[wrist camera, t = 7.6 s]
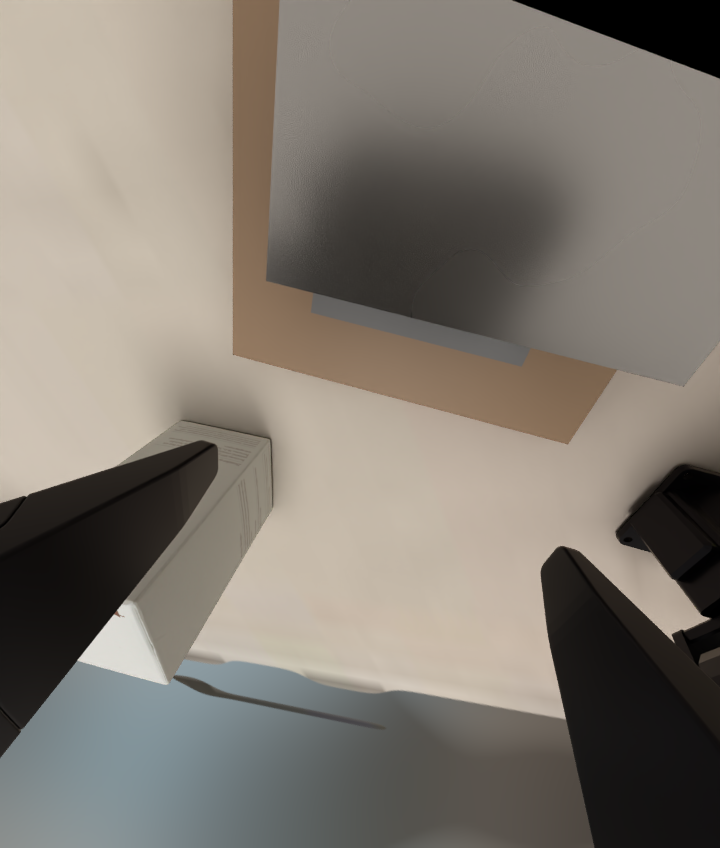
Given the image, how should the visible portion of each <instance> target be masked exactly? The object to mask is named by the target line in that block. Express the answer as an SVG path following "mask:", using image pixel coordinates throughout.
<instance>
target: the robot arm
mask: <svg viewBox="0 0 720 848" xmlns="http://www.w3.org/2000/svg"><path fill="white" fill-rule="evenodd" d="M217 472H218V447H217V445H216V444H214V443H211V442H208V441H204V440H199V441H196V442H193V443H189V444H186V445H183V446H180V447H177V448H174V449H171V450H167V451H164V452H161V453H158V454H155V455H152V456H148V457H145V458H142V459H139V460H136V461H133V462H130V463H126V464H123V465H120V466H117V467H114V468H111V469H107V470H104V471H101V472H98V473H95V474H92V475H89V476H85V477H82V478H79V479H76V480H73V481H70V482H66V483H63V484H60V485H57V486H54V487H51V488H47V489H44V490H41V491H38V492H35V493H32V494H29V495H28V496H27V497H26V496H22V497H19V498H16V499H13V500H9V501H6V502H3V503H0V757H1V756H2V755H3V754H4V753H5V751H6V750H7V749H8V748H9V746H10V745H11V744H12V742H13V741H14V740H15V739H16V737H17V736H18V735H19V734H20V732H21V729H23V728H24V727H25V726H26V724H27V723H28V722H29V721H30V719H31V718H32V717H33V716H34V714H35V713H36V712H37V711H38V709H39V708H40V707H41V705H42V704H43V703H44V702H45V701H46V699H47V698H48V697H49V695H50V694H51V693H52V692H53V690H54V689H55V688H56V687H57V685H58V684H59V683H60V682H61V680H62V679H63V678H64V677H65V675H66V674H67V673H68V672H69V670H70V669H71V668H72V667H73V665H74V664H75V663H76V662H77V660H78V659H79V658H80V657H81V655H82V654H83V653H84V651H85V650H86V649H87V648H88V646H89V645H90V644H91V643H92V641H93V640H94V639H95V638H96V636H97V635H98V634H99V633H100V631H101V630H102V629H103V628H104V626H105V625H106V624H107V623H108V621H109V620H110V619H111V618H112V616H113V615H114V614H115V613H116V611H117V610H118V609H119V607H120V606H121V605H122V604H123V602H124V601H125V600H126V599H127V597H128V596H129V595H130V594H131V592H132V591H133V590H134V589H135V587H136V586H137V585H138V584H139V582H140V581H141V580H142V579H143V577H144V576H145V575H146V574H147V572H148V571H149V570H150V569H151V567H152V566H153V565H154V563H155V562H156V561H157V560H158V558H159V557H160V556H161V555H162V553H163V552H164V551H165V550H166V548H167V547H168V546H169V545H170V543H171V542H172V541H173V540H174V538H175V537H176V536H177V535H178V533H179V532H180V531H181V529H182V528H183V527H184V525H185V524H186V522H187V521H188V519H189V518H190V516H191V515H192V513H193V512H194V510H195V509H196V507H197V505H198V504H199V502H200V501H201V499H202V498H203V496H204V494H205V493H206V491H207V490H208V488H209V487H210V485H211V483H212V482H213V480H214V479H215V477H216V475H217ZM686 473H688V474H687V475H685V474H686ZM616 537H617V539H618V540H619V542H620V543H621V544H623V545H627V546H630V547H634V548H637V549H641V550H644V551H648V552H651V553H652V554H653V555H654V556H655V558H656V559H657V560H658V562H659V563H660V564H661V566H662V567H663V568H664V570H665V571H666V572H667V574H668V575H669V576H670V577H671V578H672V579H674V580H675V581H676V582H677V584H678V585H679V586H680V587H681V589H682V590H683V591H684V593H685V594H686V595H687V597H688V598H689V599H690V601H691V602H692V603H693V605H694V606H695V607H696V609H697V610H698V611H699V613H700V614H701V615H702V616H705V617H708V618H710V619H709V620H707V621H705V622H703V623H700V624H698V625H696V626H694V627H692V628H690V629H687V630H685V631H684V630H679V631H677V632H675V633H673V634H672V637H673V639H674V642H675V643H674V642H673V641H672V640H670V639H669V638H668V637H667V636H666V635H665V634H664V633H663V632H662V631H661V630H660V629H659V628H658V627H657V626H656V625H655V624H654V623H653V622H652V621H651V620H650V619H649V618H648V617H647V616H646V615H645V614H644V613H643V612H642V611H641V610H639V609H638V608H637V607H636V606H635V605H634V604H633V603H632V602H631V601H630V600H629V599H628V598H627V597H626V596H625V595H624V594H623V593H622V592H621V591H620V590H619V589H618V588H617V587H616V586H615V585H614V584H613V583H612V582H611V581H609V580H608V579H607V578H606V577H605V576H604V575H603V574H602V573H601V572H600V571H599V570H598V569H597V568H596V567H595V566H594V565H593V564H592V563H591V562H590V561H589V560H588V559H587V558H586V557H585V556H584V555H583V554H582V553H580V552H579V551H577V550H575V549H571V548H568V547H565V546H560V547H557V548H556V549H555V551H554V552H553V553H552V554H551V555H550V557H549V558H548V559H547V560H546V562H545V563H544V564H543V566H542V568H541V582H542V591H543V599H544V608H545V616H546V625H547V632H548V638H549V643H550V649H551V653H552V658H553V662H554V667H555V671H556V676H557V680H558V685H559V689H560V694H561V699H562V703H563V708H564V712H565V717H566V721H567V726H568V730H569V735H570V739H571V744H572V748H573V752H574V757H575V762H576V766H577V771H578V776H579V780H580V784H581V789H582V793H583V798H584V803H585V807H586V812H587V816H588V821H589V825H590V830H591V834H592V839H593V843H594V848H720V473H717V472H713V471H709V470H705V469H702V468H698V467H694V466H690V465H683V466H680V467H678V468H677V469H675V470H674V471H673V472H672V474H671V475H670V476H669V477H668V478H667V479H666V480H665V481H664V482H663V483H662V484H661V486H660V487H659V488H658V489H657V490H656V491H655V492H654V493H653V494H652V495H651V496H650V498H649V499H648V500H647V501H646V502H645V503H644V504H643V505H642V506H641V507H640V508H639V510H638V511H637V512H636V513H635V514H634V515H633V516H632V517H631V518H630V519H629V521H628V522H627V523H626V524H625V525H624V526H623V527H622V528H621V529H620V530H619V531H618V533H617V534H616Z"/></svg>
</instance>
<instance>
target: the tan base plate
mask: <svg viewBox="0 0 720 848" xmlns="http://www.w3.org/2000/svg"><path fill="white" fill-rule="evenodd" d="M279 2H280V0H233V355H236V356H240V357H244V358H248V359H251V360H255V361H259V362H262V363H266V364H270V365H274V366H277V367H281V368H285V369H289V370H292V371H296V372H300V373H304V374H307V375H311V376H315V377H319V378H322V379H326V380H330V381H333V382H337V383H341V384H345V385H348V386H352V387H356V388H360V389H363V390H367V391H371V392H375V393H378V394H382V395H386V396H389V397H393V398H397V399H401V400H404V401H408V402H412V403H416V404H419V405H423V406H427V407H431V408H434V409H438V410H442V411H445V412H449V413H453V414H457V415H460V416H464V417H468V418H472V419H475V420H479V421H483V422H487V423H490V424H494V425H498V426H501V427H505V428H509V429H513V430H516V431H520V432H524V433H528V434H531V435H535V436H539V437H543V438H546V439H550V440H554V441H557V442H561V443H565V444H568V443H569V442H570V440H571V439H572V437H573V436H574V434H575V433H576V431H577V430H578V428H579V427H580V425H581V424H582V422H583V421H584V419H585V418H586V416H587V415H588V413H589V412H590V410H591V409H592V407H593V406H594V404H595V402H596V401H597V399H598V398H599V396H600V395H601V393H602V392H603V390H604V389H605V387H606V386H607V384H608V383H609V381H610V380H611V378H612V377H613V375H614V374H615V372H616V371H617V370H616V369H612V368H608V367H604V366H600V365H596V364H592V363H588V362H584V361H581V360H577V359H573V358H569V357H565V356H561V355H557V354H553V353H549V352H545V351H541V350H537V349H533V348H529V347H525V346H521V345H517V344H513V343H509V342H505V341H501V340H497V339H493V338H490V337H486V336H482V335H478V334H474V333H470V332H466V331H462V330H458V329H454V328H450V327H446V326H442V325H438V324H434V323H430V322H426V321H422V320H418V319H414V318H410V317H406V316H402V315H399V314H395V313H391V312H387V311H383V310H379V309H375V308H371V307H367V306H363V305H359V304H355V303H351V302H347V301H343V300H339V299H335V298H331V297H327V296H323V295H319V294H315V293H311V292H308V291H304V290H300V289H296V288H292V287H288V286H284V285H280V284H276V283H272V282H268V281H266V269H267V248H268V228H269V207H270V187H271V166H272V146H273V125H274V105H275V84H276V64H277V43H278V23H279Z"/></svg>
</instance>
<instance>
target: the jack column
mask: <svg viewBox="0 0 720 848" xmlns="http://www.w3.org/2000/svg"><path fill="white" fill-rule="evenodd" d="M266 281H268V282H272V283H276V284H280V285H284V286H288V287H292V288H296V289H300V290H304V291H308V292H311V293H315V294H319V295H323V296H327V297H331V298H335V299H339V300H343V301H347V302H351V303H355V304H359V305H363V306H367V307H371V308H375V309H379V310H383V311H387V312H391V313H395V314H399V315H402V316H406V317H410V318H414V319H418V320H422V321H426V322H430V323H434V324H438V325H442V326H446V327H450V328H454V329H458V330H462V331H466V332H470V333H474V334H478V335H482V336H486V337H490V338H493V339H497V340H501V341H505V342H509V343H513V344H517V345H521V346H525V347H529V348H533V349H537V350H541V351H545V352H549V353H553V354H557V355H561V356H565V357H569V358H573V359H577V360H581V361H584V362H588V363H592V364H596V365H600V366H604V367H608V368H612V369H616V370H620V371H624V372H628V373H632V374H636V375H640V376H644V377H648V378H652V379H656V380H660V381H664V382H668V383H672V384H675V385H679V386H683V387H684V385H685V384H686V383H687V382H688V380H689V379H690V378H691V376H692V375H693V374H694V373H695V371H696V370H697V369H698V368H699V366H700V365H701V364H702V363H703V361H704V360H705V359H706V358H707V356H708V355H709V354H710V353H711V351H712V350H713V349H714V348H715V346H716V345H717V344H718V343H719V341H720V0H280V2H279V23H278V43H277V64H276V84H275V105H274V125H273V146H272V166H271V187H270V207H269V228H268V248H267V269H266Z"/></svg>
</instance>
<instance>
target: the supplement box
mask: <svg viewBox="0 0 720 848" xmlns="http://www.w3.org/2000/svg"><path fill="white" fill-rule="evenodd" d="M199 440H204V441H208V442H211V443H214V444H216V445H217V447H218V472H217V475H216V477H215V479H214V480H213V482H212V483H211V485H210V487H209V488H208V490H207V491H206V493H205V494H204V496H203V498H202V499H201V501H200V502H199V504H198V505H197V507H196V509H195V510H194V512H193V513H192V515H191V516H190V518H189V519H188V521H187V522H186V524H185V525H184V527H183V528H182V529H181V531H180V532H179V533H178V535H177V536H176V537H175V538H174V540H173V541H172V542H171V543H170V545H169V546H168V547H167V548H166V550H165V551H164V552H163V553H162V555H161V556H160V557H159V558H158V560H157V561H156V562H155V563H154V565H153V566H152V567H151V569H150V570H149V571H148V572H147V574H146V575H145V576H144V577H143V579H142V580H141V581H140V582H139V584H138V585H137V586H136V587H135V589H134V590H133V591H132V592H131V594H130V595H129V596H128V597H127V599H126V600H125V601H124V602H123V604H122V605H121V606H120V607H119V609H118V610H117V611H116V613H115V614H114V615H113V616H112V618H111V619H110V620H109V621H108V623H107V624H106V625H105V626H104V628H103V629H102V630H101V631H100V633H99V634H98V635H97V636H96V638H95V639H94V640H93V641H92V643H91V644H90V645H89V646H88V648H87V649H86V650H85V651H84V653H83V654H82V655H81V657H80V658H79V659H78V660H77V661H81V662H84V663H88V664H91V665H95V666H98V667H102V668H105V669H109V670H113V671H116V672H120V673H124V674H127V675H131V676H134V677H138V678H142V679H145V680H150V681H153V682H157V683H160V684H164V685H168V684H169V683H170V681H171V679H172V678H173V676H174V675H175V673H176V671H177V670H178V668H179V666H180V665H181V663H182V661H183V660H184V658H185V656H186V655H187V653H188V651H189V650H190V648H191V646H192V645H193V643H194V641H195V640H196V638H197V636H198V635H199V633H200V631H201V629H202V628H203V626H204V624H205V622H206V621H207V619H208V617H209V616H210V614H211V612H212V611H213V609H214V607H215V605H216V604H217V602H218V600H219V599H220V597H221V595H222V593H223V592H224V590H225V588H226V587H227V585H228V583H229V581H230V580H231V578H232V576H233V574H234V573H235V571H236V569H237V568H238V566H239V564H240V563H241V561H242V559H243V558H244V556H245V554H246V552H247V551H248V549H249V547H250V546H251V544H252V542H253V540H254V539H255V537H256V535H257V534H258V532H259V531H260V529H261V527H262V525H263V524H264V522H265V520H266V519H267V517H268V515H269V514H270V512H271V511H272V477H271V446H270V439H267V438H262V437H258V436H254V435H249V434H244V433H239V432H235V431H230V430H225V429H221V428H216V427H211V426H207V425H202V424H197V423H192V422H186V421H179V422H178V423H176V424H175V425H173V426H172V427H171V428H169V429H168V430H167V431H165V432H164V433H162V434H161V435H159V436H158V437H156V438H155V439H154V440H152V441H151V442H150V443H148V444H147V445H145V446H144V447H143V448H141V449H140V450H138V451H137V452H136V453H134V454H133V455H131V456H130V457H129V458H127V459H126V460H124V461H123V462H122V463H120V464H119V465H117V466H120V465H123V464H126V463H130V462H133V461H136V460H139V459H142V458H145V457H148V456H152V455H155V454H158V453H161V452H164V451H167V450H171V449H174V448H177V447H180V446H183V445H186V444H189V443H193V442H196V441H199ZM117 466H116V467H117Z"/></svg>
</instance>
